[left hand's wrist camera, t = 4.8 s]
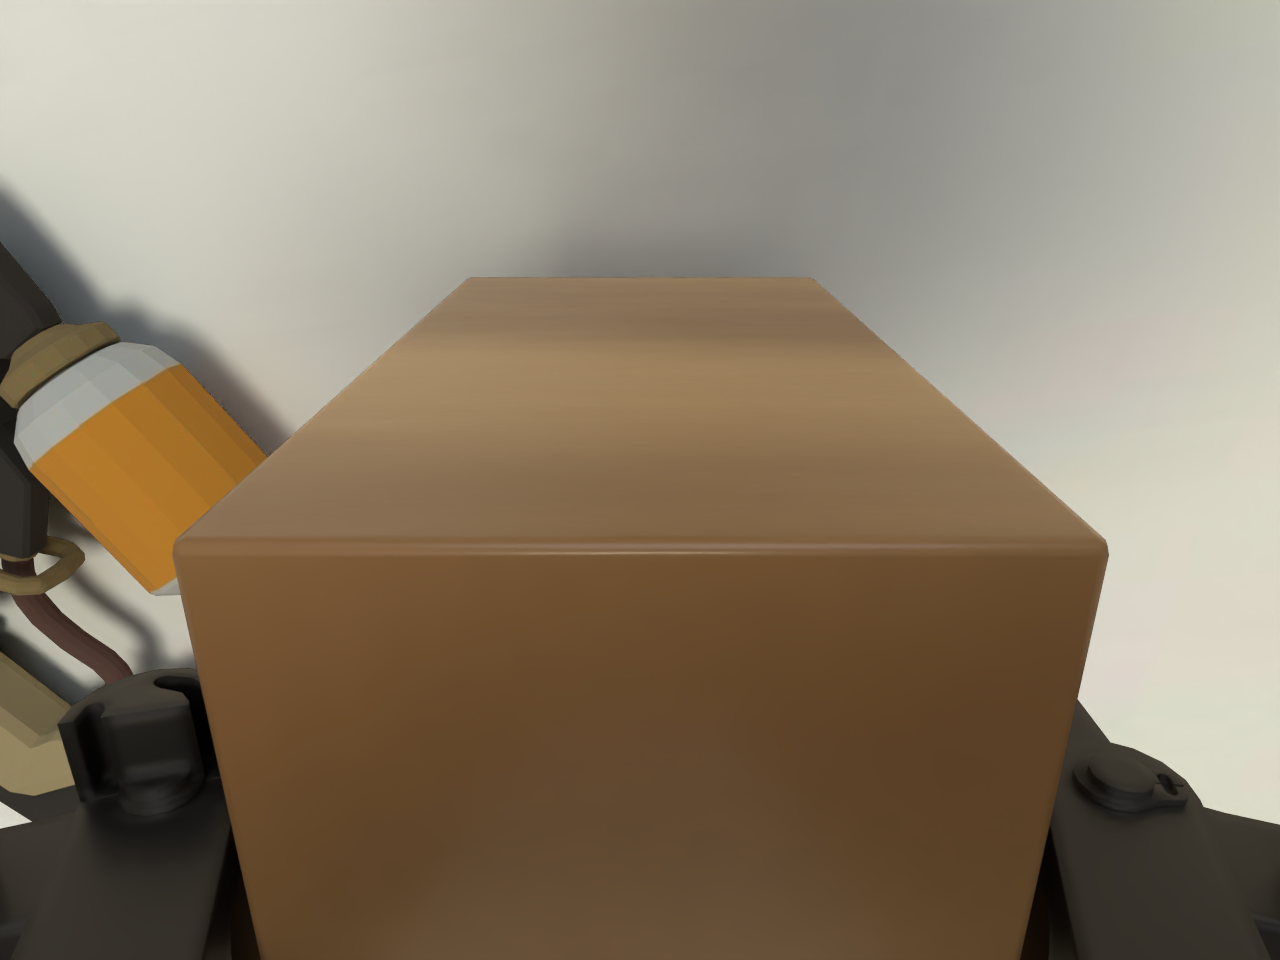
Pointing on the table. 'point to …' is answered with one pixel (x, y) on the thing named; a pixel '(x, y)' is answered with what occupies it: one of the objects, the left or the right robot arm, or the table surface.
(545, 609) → the bar
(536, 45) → the table surface
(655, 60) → the table surface
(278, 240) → the table surface
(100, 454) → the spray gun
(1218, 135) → the table surface
